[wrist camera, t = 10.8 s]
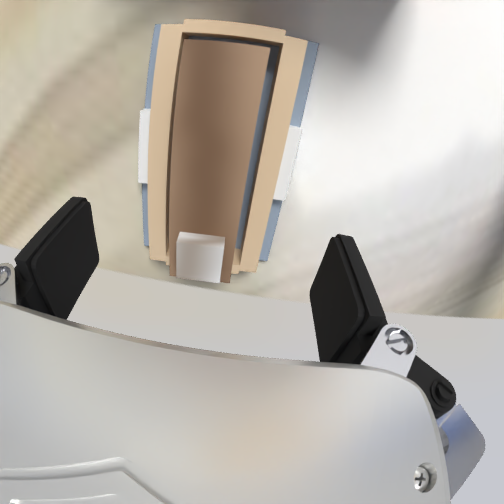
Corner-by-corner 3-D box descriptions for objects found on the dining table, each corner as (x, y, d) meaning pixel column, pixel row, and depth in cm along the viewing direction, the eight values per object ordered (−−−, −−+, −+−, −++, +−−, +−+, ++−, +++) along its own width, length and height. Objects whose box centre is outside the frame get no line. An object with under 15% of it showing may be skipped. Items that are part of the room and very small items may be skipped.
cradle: (317, 44, 16) (327, 40, 14) (266, 257, 28) (268, 277, 26) (157, 25, 15) (144, 19, 12) (146, 242, 27) (137, 260, 24)
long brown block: (263, 54, 16) (272, 45, 11) (232, 237, 26) (228, 294, 20) (201, 47, 16) (179, 36, 10) (183, 232, 25) (166, 286, 20)
